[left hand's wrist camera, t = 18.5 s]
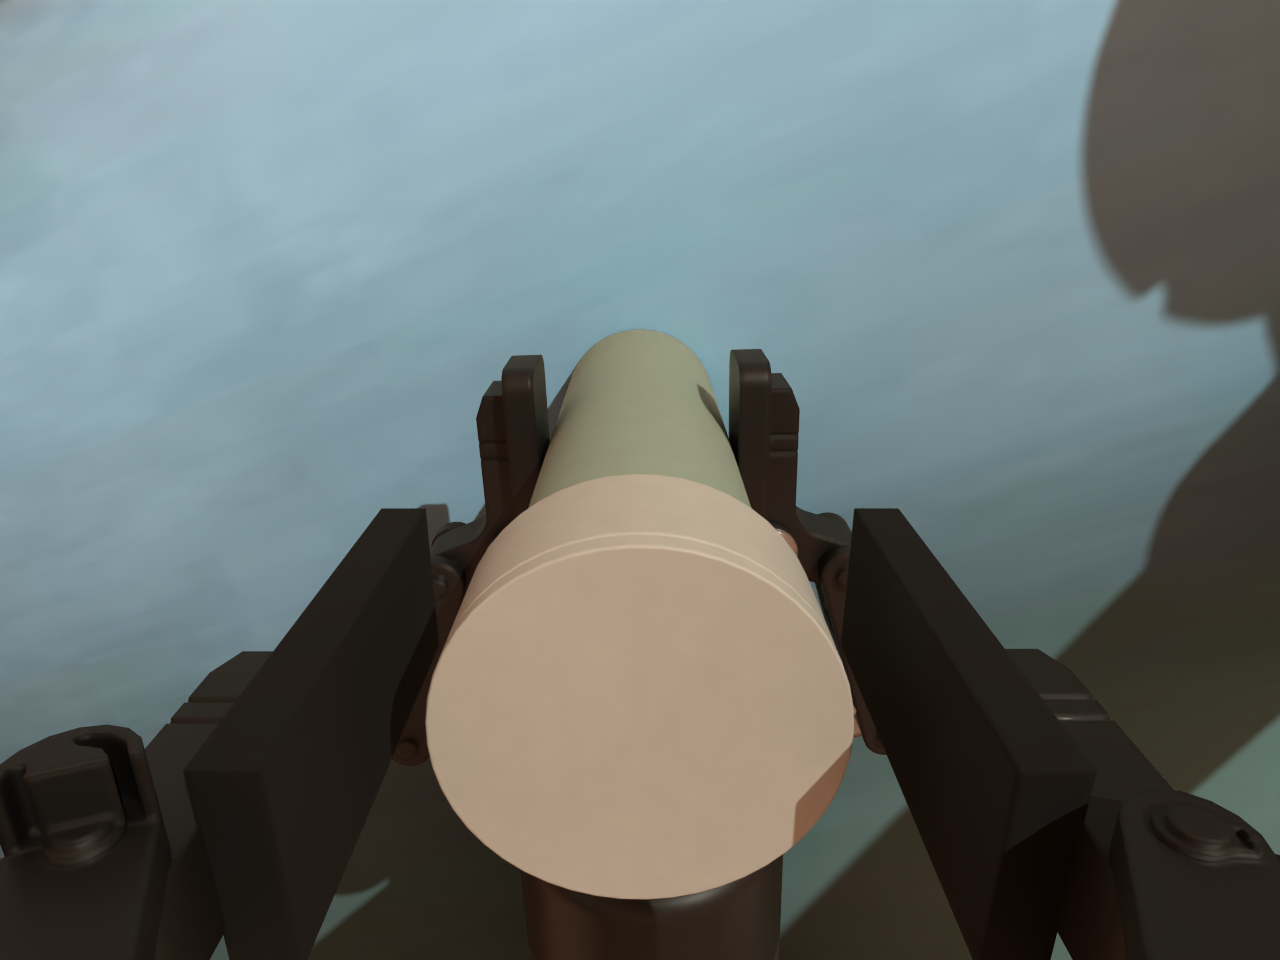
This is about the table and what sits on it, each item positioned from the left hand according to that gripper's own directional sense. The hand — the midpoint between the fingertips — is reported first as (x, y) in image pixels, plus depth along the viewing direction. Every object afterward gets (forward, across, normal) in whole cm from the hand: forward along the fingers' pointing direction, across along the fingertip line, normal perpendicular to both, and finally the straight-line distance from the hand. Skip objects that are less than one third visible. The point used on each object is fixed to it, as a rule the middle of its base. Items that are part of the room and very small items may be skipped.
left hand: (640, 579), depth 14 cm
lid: (-4, 0, 0) cm, 4 cm away
